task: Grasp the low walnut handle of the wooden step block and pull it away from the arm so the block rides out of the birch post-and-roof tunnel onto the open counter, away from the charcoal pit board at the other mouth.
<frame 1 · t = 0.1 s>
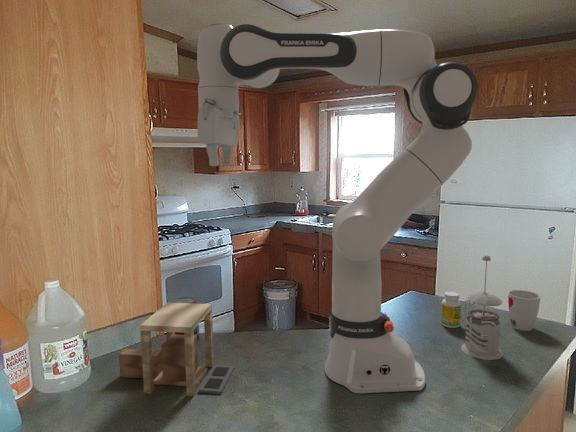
hand: (220, 165, 94), 48 cm above the counter, fingers open, 8 cm apart
supplement bottle: (450, 325, 124), on the counter
tunnel: (181, 377, 95), on the counter
french press: (478, 350, 107), on the counter
cup: (521, 328, 121), on the counter
wooden step block: (161, 357, 95), point 5 cm above the counter, slide at 0.0 cm
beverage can: (186, 343, 113), on the counter
pit board: (217, 379, 94), on the counter
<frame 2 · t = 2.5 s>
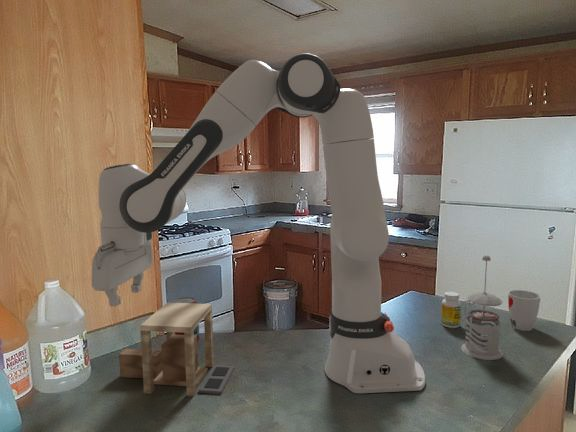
hand: (126, 298, 94), 18 cm above the counter, fingers open, 8 cm apart
nothing on the counter moved.
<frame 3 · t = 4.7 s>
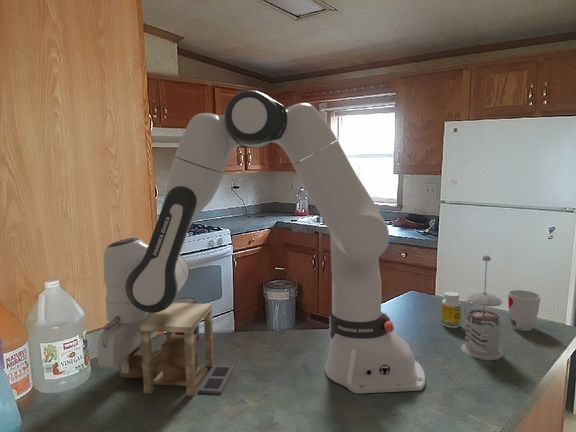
hand: (131, 367, 96), 2 cm above the counter, fingers closed on wooden step block, 3 cm apart
wooden step block: (161, 357, 95), point 5 cm above the counter, slide at 0.0 cm, touching gripper
everything else where it was.
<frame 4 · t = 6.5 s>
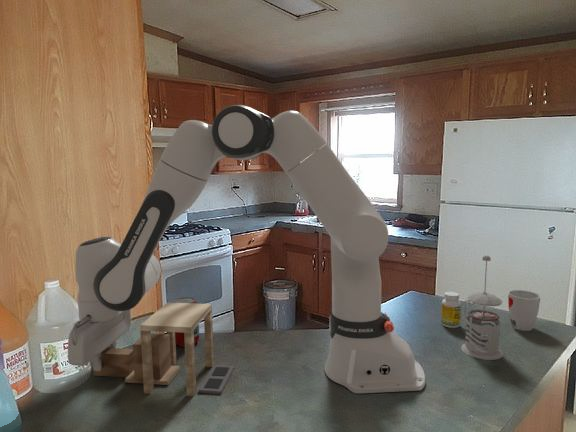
hand: (104, 365, 97), 2 cm above the counter, fingers closed on wooden step block, 3 cm apart
wooden step block: (134, 356, 96), point 5 cm above the counter, slide at 6.6 cm, touching gripper
everything else where it was.
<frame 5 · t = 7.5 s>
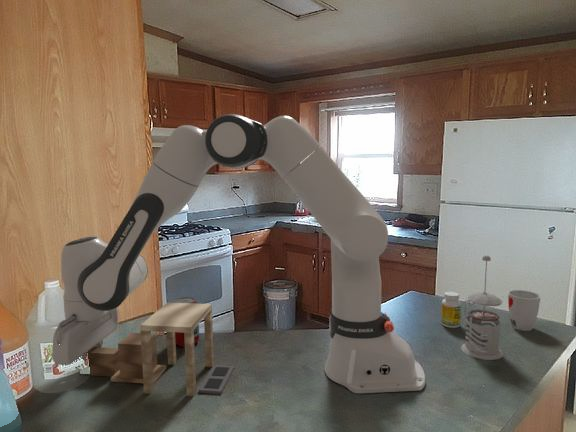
hand: (90, 364, 97), 2 cm above the counter, fingers closed on wooden step block, 3 cm apart
wooden step block: (119, 355, 96), point 5 cm above the counter, slide at 10.1 cm, touching gripper
everything else where it was.
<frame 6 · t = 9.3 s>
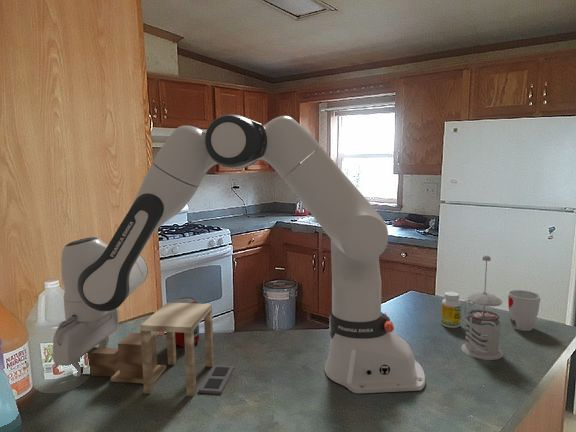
hand: (90, 364, 97), 2 cm above the counter, fingers open, 8 cm apart
wooden step block: (119, 355, 96), point 5 cm above the counter, slide at 10.1 cm
everything else where it was.
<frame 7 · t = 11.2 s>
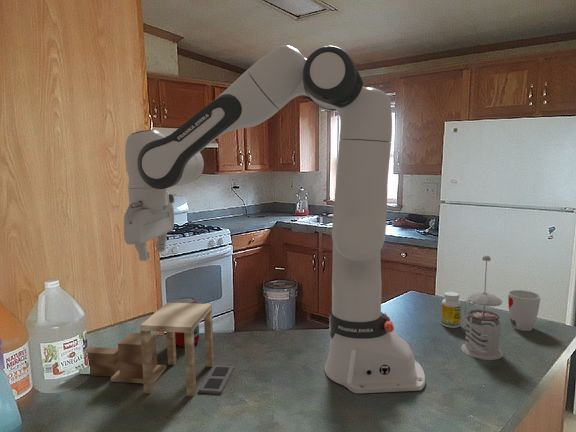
hand: (153, 255, 102), 26 cm above the counter, fingers open, 8 cm apart
nothing on the counter moved.
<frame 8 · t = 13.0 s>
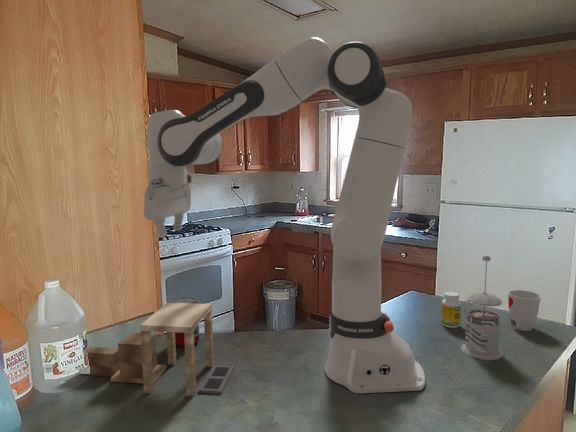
hand: (170, 233, 104), 31 cm above the counter, fingers open, 8 cm apart
nothing on the counter moved.
at the end: wooden step block slide at 10.1 cm; wooden step block inside the target area (0.1 cm from its centre), on the counter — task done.
